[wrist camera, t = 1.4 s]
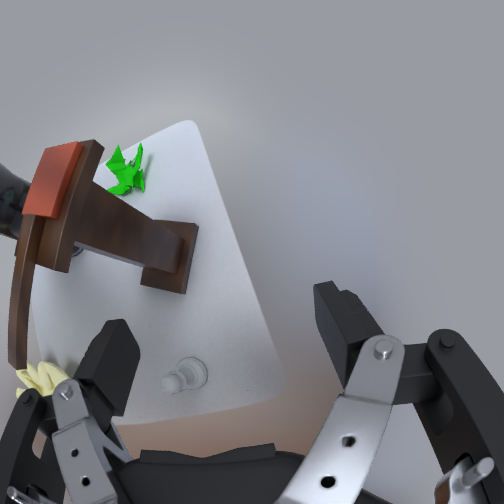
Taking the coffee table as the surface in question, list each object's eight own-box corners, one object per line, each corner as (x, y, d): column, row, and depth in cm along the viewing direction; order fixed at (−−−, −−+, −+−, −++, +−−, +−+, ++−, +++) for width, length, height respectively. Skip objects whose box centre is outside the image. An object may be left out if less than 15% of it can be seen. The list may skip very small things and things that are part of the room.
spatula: (38, 378, 13) (27, 379, 12) (10, 353, 14) (0, 354, 13) (83, 145, 17) (74, 138, 15) (50, 152, 18) (42, 146, 16)
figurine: (145, 214, 45) (111, 204, 47) (160, 147, 42) (124, 143, 45) (121, 214, 39) (87, 204, 41) (138, 139, 36) (102, 137, 39)
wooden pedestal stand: (185, 294, 37) (53, 270, 15) (145, 285, 39) (13, 255, 16) (198, 226, 39) (94, 138, 16) (158, 222, 41) (47, 148, 18)
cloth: (107, 446, 35) (117, 426, 41) (77, 370, 32) (93, 352, 38) (26, 416, 33) (38, 402, 39) (-5, 344, 30) (12, 332, 36)
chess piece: (201, 393, 34) (178, 411, 26) (173, 378, 35) (145, 392, 28) (212, 366, 35) (190, 379, 27) (183, 351, 36) (155, 360, 28)
